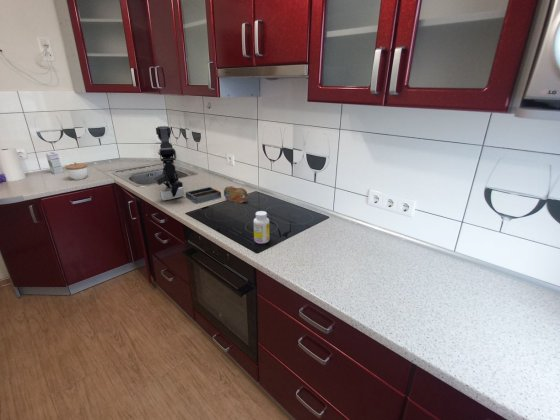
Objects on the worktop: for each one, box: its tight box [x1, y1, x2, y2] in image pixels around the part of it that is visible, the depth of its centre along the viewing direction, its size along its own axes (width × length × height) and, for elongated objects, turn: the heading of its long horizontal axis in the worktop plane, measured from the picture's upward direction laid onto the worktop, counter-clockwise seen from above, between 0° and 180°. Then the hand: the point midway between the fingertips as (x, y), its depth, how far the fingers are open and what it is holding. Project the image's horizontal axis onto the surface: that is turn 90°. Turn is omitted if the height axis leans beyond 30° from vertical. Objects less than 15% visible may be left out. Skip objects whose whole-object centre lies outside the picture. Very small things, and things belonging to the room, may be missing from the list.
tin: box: [223, 185, 249, 204], centre depth 170 cm, size 15×3×8 cm, turn 62°
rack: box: [185, 186, 222, 204], centre depth 175 cm, size 13×16×4 cm
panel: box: [159, 187, 185, 201], centre depth 172 cm, size 4×12×5 cm, turn 130°
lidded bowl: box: [64, 162, 89, 181], centre depth 205 cm, size 13×13×11 cm
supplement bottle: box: [253, 210, 270, 244], centre depth 126 cm, size 7×7×13 cm
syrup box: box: [45, 151, 64, 175], centre depth 215 cm, size 6×6×14 cm
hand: (172, 195), depth 172 cm, fingers closed on panel, 3 cm apart
